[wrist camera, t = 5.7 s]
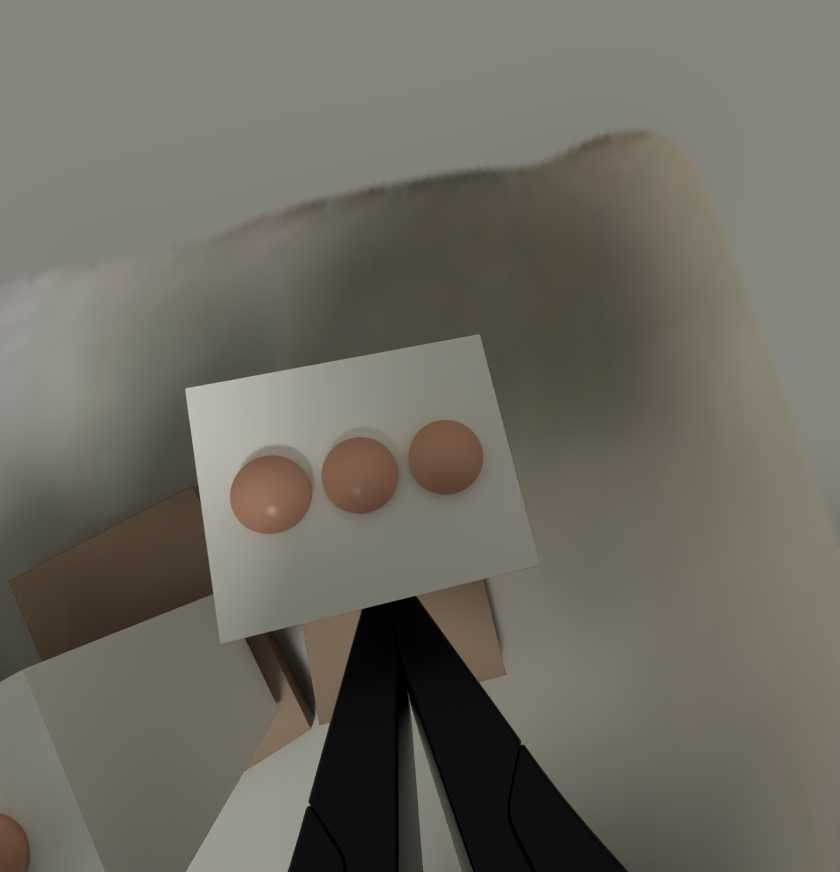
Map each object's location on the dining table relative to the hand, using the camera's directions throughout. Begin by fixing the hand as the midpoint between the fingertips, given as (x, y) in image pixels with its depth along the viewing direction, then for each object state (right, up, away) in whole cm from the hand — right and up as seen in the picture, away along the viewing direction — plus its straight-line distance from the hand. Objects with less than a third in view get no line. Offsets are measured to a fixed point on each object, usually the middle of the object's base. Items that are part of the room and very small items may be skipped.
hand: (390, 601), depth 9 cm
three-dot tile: (-1, +1, +7) cm, 8 cm away
